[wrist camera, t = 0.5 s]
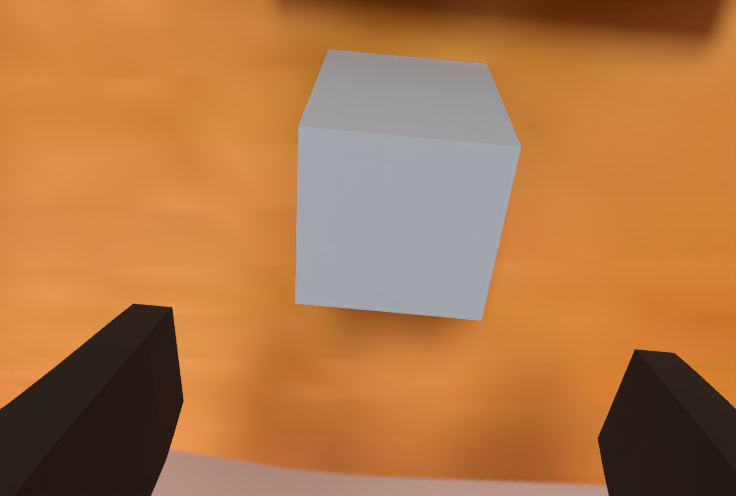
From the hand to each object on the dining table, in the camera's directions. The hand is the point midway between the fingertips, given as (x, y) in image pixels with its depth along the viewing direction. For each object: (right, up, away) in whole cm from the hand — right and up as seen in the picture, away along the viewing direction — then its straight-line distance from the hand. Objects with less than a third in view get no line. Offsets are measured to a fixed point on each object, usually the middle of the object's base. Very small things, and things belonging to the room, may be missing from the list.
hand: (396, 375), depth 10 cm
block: (+1, +6, +9) cm, 10 cm away
